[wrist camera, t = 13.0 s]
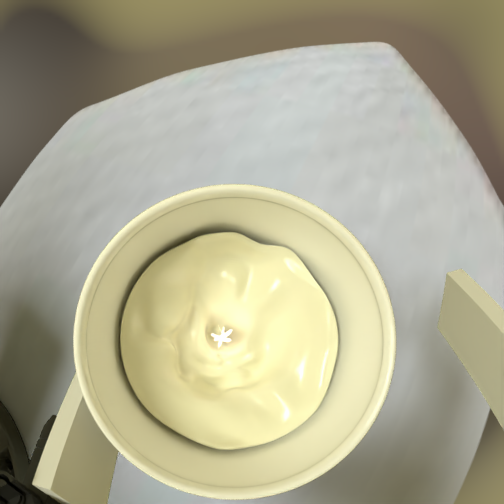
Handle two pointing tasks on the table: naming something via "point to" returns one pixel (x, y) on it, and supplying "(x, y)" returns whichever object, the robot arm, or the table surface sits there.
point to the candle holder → (234, 341)
